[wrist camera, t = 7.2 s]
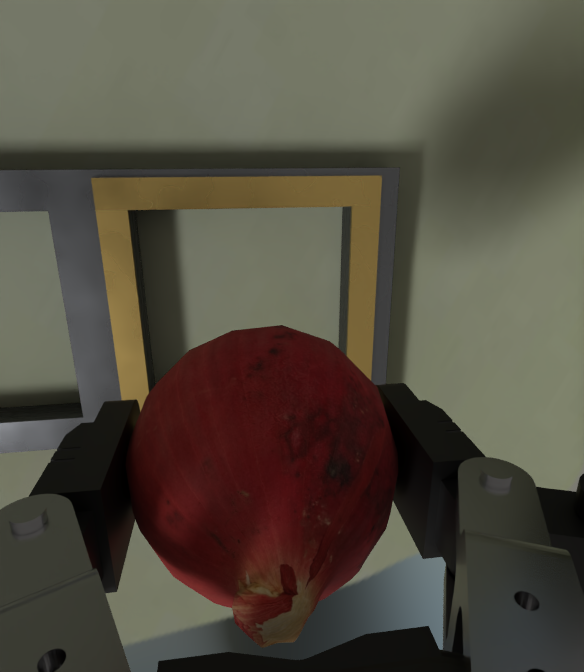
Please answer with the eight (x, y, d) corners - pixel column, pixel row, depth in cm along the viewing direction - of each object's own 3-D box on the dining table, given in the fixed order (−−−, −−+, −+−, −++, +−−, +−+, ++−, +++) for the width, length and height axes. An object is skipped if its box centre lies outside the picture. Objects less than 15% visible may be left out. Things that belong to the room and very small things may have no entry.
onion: (253, 248, 13) (298, 357, 5) (386, 379, 15) (555, 594, 7) (111, 393, 14) (-21, 663, 6) (254, 500, 16) (286, 806, 8)
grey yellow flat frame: (-254, 171, 18) (-300, 171, 16) (387, 167, 21) (401, 167, 19) (-153, 447, 22) (-183, 469, 20) (373, 409, 25) (384, 426, 23)
